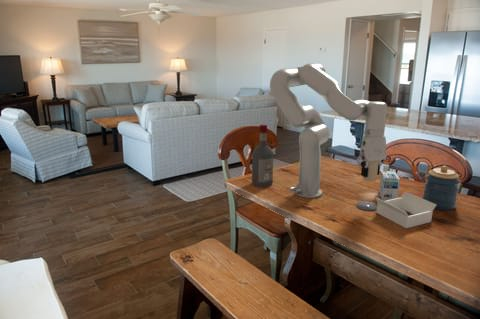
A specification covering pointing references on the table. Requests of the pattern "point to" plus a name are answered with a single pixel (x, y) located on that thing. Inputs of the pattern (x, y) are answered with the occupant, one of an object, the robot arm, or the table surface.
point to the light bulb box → (389, 185)
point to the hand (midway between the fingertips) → (370, 174)
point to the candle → (372, 171)
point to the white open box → (408, 203)
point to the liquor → (262, 161)
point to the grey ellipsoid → (366, 205)
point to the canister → (442, 188)
